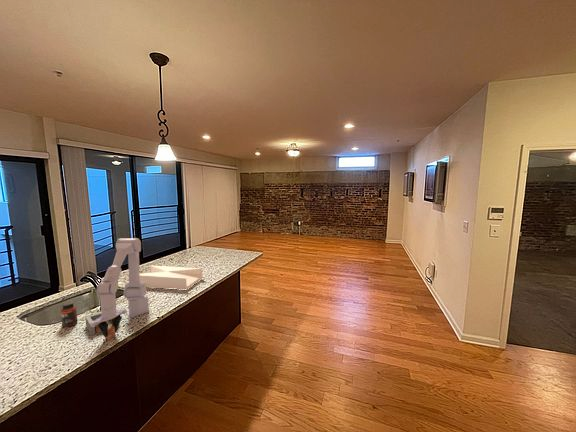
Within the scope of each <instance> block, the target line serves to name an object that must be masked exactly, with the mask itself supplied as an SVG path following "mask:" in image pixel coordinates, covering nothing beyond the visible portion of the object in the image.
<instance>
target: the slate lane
mask: <svg viewBox="0 0 576 432" xmlns="http://www.w3.org/2000/svg"><path fill="white" fill-rule="evenodd" d="M99 317H101V311H100V312H97V313H94V314H91V315H88V316H85V327H86V329H87V330H88V333H89V334H90V336H92V335H96V332H95V327H91V326H90V322H92V321H94V320H96V319H98V318H99ZM109 321H111V319H110V320H109ZM119 326H120V324H119V325H118V327H119Z"/></svg>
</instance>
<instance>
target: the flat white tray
mask: <svg viewBox="0 0 576 432" xmlns="http://www.w3.org/2000/svg"><path fill="white" fill-rule="evenodd" d="M149 270H150V272H145V273H140V280H141V281H143V282H144V283H145V286H146V287H153V288H152V289H154V287H155V288H177V289H188V288H189V287H191V286H192V285H193V284H195V283H196V282H198V281H199V280H200V279H202V278H203V268H202V267H200V268H199V267H197V268H196V267H183V266H182V267H181V266H167V265H166V266H164V265H163V266H162V265H150V269H149Z"/></svg>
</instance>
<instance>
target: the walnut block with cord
mask: <svg viewBox="0 0 576 432" xmlns="http://www.w3.org/2000/svg"><path fill="white" fill-rule="evenodd" d="M106 323H107V324H108V337H105V339H107V340H110V339H113V338H115V337H116V333H115V326H113V325H112V324H109V320H107V321H106ZM100 332H102V331H101V329H100V328H99V327H98V325H96V326H95V334H98V333H100Z"/></svg>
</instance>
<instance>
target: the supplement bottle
mask: <svg viewBox="0 0 576 432" xmlns="http://www.w3.org/2000/svg"><path fill="white" fill-rule="evenodd" d="M77 314H78V313H77V306H76V305H74V301H68V302H65V303H63V304H62V308H61V309H60V316H61V317H60V318H61V327H63V328H68V327H72V326H74V325H76V324H78V315H77Z"/></svg>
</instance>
